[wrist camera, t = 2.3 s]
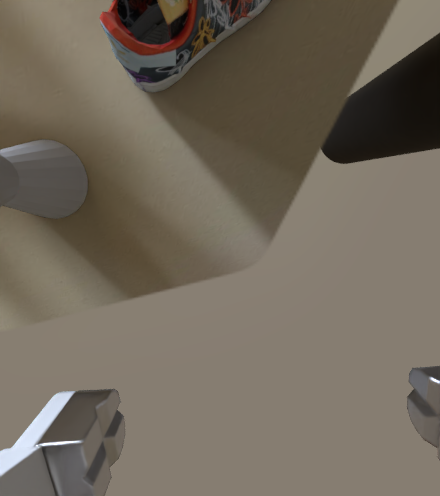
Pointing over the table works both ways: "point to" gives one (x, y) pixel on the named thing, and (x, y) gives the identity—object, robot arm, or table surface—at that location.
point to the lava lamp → (42, 179)
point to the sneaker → (171, 34)
